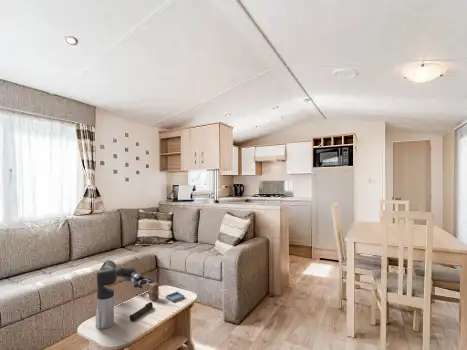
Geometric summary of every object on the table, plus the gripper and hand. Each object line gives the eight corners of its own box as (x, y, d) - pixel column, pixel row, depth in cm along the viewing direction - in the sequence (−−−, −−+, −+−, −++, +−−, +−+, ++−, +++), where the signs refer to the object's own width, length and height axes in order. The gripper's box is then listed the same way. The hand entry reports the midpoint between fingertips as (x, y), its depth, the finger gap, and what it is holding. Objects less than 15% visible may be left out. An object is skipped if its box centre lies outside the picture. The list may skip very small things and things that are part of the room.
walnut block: (152, 301, 186) (152, 286, 186) (148, 299, 189) (149, 284, 189) (158, 299, 189) (158, 284, 189) (155, 296, 193) (155, 282, 193)
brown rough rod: (133, 322, 159) (133, 314, 159) (129, 320, 160) (129, 313, 161) (155, 308, 176) (155, 301, 176) (151, 307, 177) (151, 300, 178)
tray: (172, 302, 184) (172, 299, 184) (166, 298, 190) (166, 295, 191) (184, 298, 190) (184, 295, 190) (177, 294, 197) (177, 291, 197)
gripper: (129, 277, 204) (138, 283, 192) (146, 272, 214) (155, 278, 202) (129, 286, 204) (138, 293, 192) (146, 281, 214) (155, 287, 202)
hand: (147, 285), depth 197 cm, fingers open, 8 cm apart
